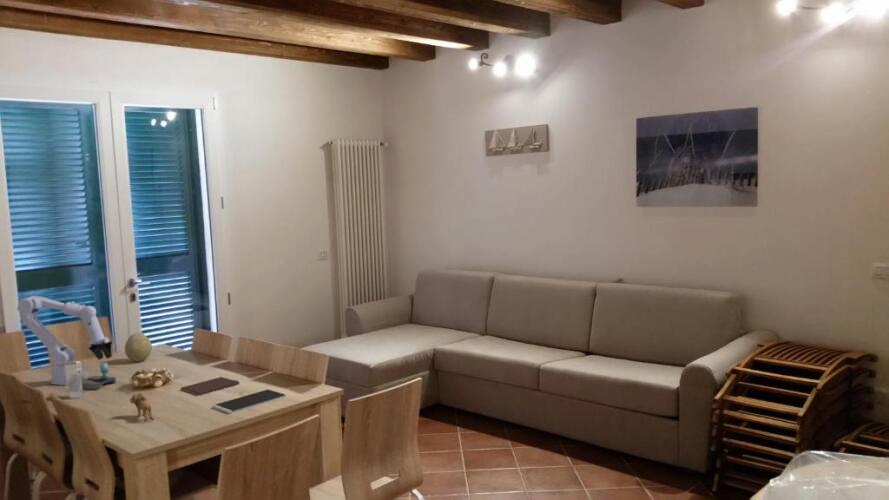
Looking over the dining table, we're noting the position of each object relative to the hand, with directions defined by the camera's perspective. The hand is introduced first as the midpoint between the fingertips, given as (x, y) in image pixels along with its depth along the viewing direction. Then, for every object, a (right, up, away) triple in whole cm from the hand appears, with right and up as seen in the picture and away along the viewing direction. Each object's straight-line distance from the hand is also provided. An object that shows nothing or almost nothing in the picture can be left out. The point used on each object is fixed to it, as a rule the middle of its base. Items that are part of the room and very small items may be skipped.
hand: (105, 358), depth 316 cm
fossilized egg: (+1, -7, +34) cm, 35 cm away
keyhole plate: (0, -11, -9) cm, 14 cm away
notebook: (+56, -11, -17) cm, 59 cm away
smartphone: (+80, -12, -41) cm, 91 cm away
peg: (-1, -10, +2) cm, 10 cm away
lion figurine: (+43, -14, -55) cm, 71 cm away
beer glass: (0, -13, -25) cm, 28 cm away
